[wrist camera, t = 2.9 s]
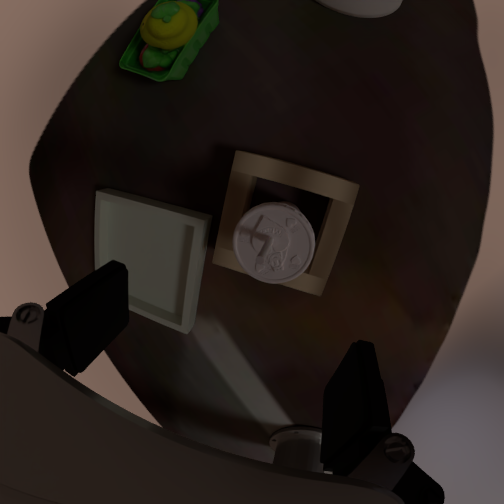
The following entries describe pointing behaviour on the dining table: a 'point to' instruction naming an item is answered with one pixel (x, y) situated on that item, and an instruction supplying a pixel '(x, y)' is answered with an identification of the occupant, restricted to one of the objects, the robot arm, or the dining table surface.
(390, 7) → the candlestick
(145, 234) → the tray
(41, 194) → the dining table surface
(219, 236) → the holder
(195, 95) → the dining table surface
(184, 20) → the fruit basket
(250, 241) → the smoothie
